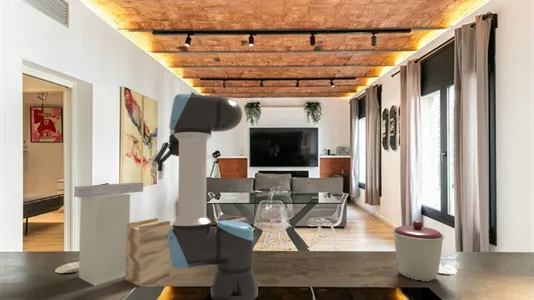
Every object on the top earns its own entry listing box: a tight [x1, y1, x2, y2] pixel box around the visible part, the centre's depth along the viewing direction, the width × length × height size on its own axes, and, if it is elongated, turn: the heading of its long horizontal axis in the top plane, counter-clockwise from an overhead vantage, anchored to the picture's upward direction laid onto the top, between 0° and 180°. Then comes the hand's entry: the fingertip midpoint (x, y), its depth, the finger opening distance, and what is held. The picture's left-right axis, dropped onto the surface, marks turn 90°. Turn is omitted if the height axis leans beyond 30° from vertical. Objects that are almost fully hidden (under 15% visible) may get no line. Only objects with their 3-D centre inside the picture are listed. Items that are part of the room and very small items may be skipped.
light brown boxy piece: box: [125, 217, 172, 287], centre depth 112 cm, size 9×12×20 cm
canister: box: [391, 220, 446, 282], centre depth 118 cm, size 18×18×21 cm
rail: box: [73, 182, 144, 198], centre depth 115 cm, size 4×24×4 cm, turn 144°
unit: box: [78, 193, 131, 287], centre depth 114 cm, size 12×12×30 cm
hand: (174, 181), depth 136 cm, fingers open, 13 cm apart
